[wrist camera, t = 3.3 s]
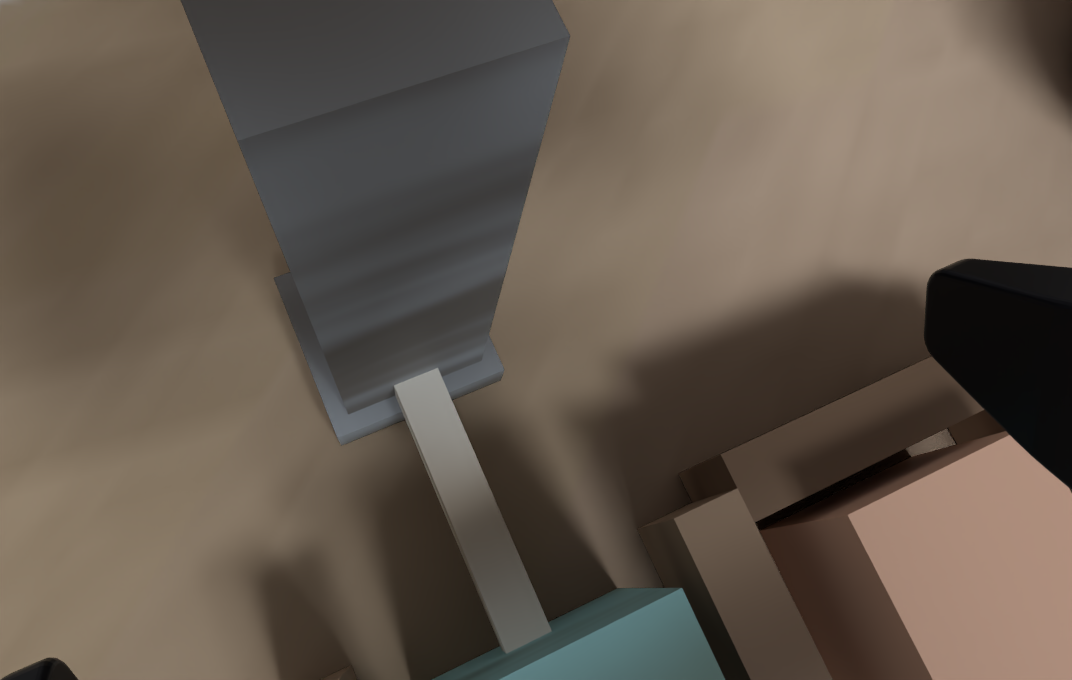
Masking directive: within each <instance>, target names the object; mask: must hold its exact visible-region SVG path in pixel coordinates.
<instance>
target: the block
mask: <svg viewBox="0 0 1072 680" xmlns="http://www.w3.org/2000/svg"><path fill="white" fill-rule="evenodd" d="M760 533H761V535H762V537H763V539H764V541H765V543H766V545H767V547H768V549H769V551H770V553H771V555H772V557H773V559H774V561H775V563H776V565H777V567H778V569H779V571H780V573H781V576H782V578H783V580H784V582H785V584H786V586H787V588H788V590H789V592H790V594H791V596H792V598H793V600H794V602H795V604H796V606H797V608H798V610H799V612H800V614H801V616H802V618H803V620H804V622H805V624H806V626H807V629H808V631H809V633H810V635H811V637H812V639H813V641H814V643H815V645H816V647H817V649H818V651H819V653H820V655H821V657H822V659H823V661H824V663H825V665H826V667H827V669H828V671H829V673H830V675H831V677H832V679H833V680H1072V493H1071V491H1070V489H1069V488H1068V487H1067V486H1066V485H1065V484H1064V483H1062V482H1061V481H1060V480H1059V479H1058V478H1056V477H1055V476H1054V475H1053V474H1052V473H1050V472H1049V471H1048V470H1047V469H1046V468H1045V467H1043V466H1042V465H1041V464H1040V463H1039V462H1038V461H1037V460H1035V459H1034V458H1033V457H1032V456H1031V455H1030V454H1029V453H1028V452H1027V451H1026V450H1025V449H1024V448H1022V447H1021V446H1020V445H1019V444H1018V443H1017V442H1016V441H1015V440H1014V439H1013V438H1012V437H1011V436H1010V435H1009V434H1008V433H1007V432H1006V431H1004V432H1001V433H997V434H993V435H990V436H986V437H983V438H979V439H975V440H972V441H968V442H964V443H961V444H957V445H953V446H950V447H946V448H942V449H939V450H935V451H932V452H928V453H924V454H921V455H917V456H913V457H910V458H908V459H906V460H904V461H902V462H900V463H898V464H896V465H894V466H892V467H890V468H888V469H886V470H884V471H882V472H880V473H877V474H875V475H873V476H871V477H869V478H867V479H865V480H863V481H861V482H859V483H857V484H855V485H853V486H851V487H849V488H847V489H845V490H842V491H840V492H838V493H836V494H834V495H832V496H830V497H828V498H826V499H824V500H822V501H820V502H818V503H816V504H814V505H812V506H810V507H808V508H805V509H803V510H801V511H799V512H797V513H795V514H793V515H791V516H789V517H787V518H785V519H783V520H781V521H779V522H777V523H775V524H773V525H770V526H768V527H766V528H764V529H762V530H760Z"/></svg>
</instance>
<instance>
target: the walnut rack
mask: <svg viewBox="0 0 1072 680" xmlns="http://www.w3.org/2000/svg"><path fill="white" fill-rule="evenodd" d="M946 428H948V429H949V431H950V432H951V434H952V436H953V438H954V440H955V441H956V443H957V444H961V443H964V442H968V441H972V440H975V439H979V438H983V437H986V436H990V435H993V434H997V433H1001V432H1004V431H1005V430H1004V429H1003V428H1002V427H1001V426H1000V425H999V424H998V423H997V422H996V421H995V420H994V419H993V418H992V417H991V416H990V415H989V414H988V413H987V412H986V411H985V410H984V409H983V408H982V407H981V406H980V405H979V404H978V403H977V402H976V401H975V400H974V399H973V398H972V397H971V396H970V395H969V394H968V393H967V392H966V391H965V390H964V389H963V388H962V387H961V386H960V385H959V384H958V383H957V382H956V381H955V380H954V379H953V378H952V377H951V376H950V375H949V374H948V373H947V372H946V371H945V370H944V369H943V368H942V367H941V366H940V365H939V364H938V363H937V362H936V361H935V359H934V358H933V357H932V356H931V357H929V358H926V359H924V360H922V361H920V362H918V363H915V364H913V365H911V366H909V367H907V368H905V369H902V370H900V371H898V372H896V373H894V374H892V375H890V376H887V377H885V378H883V379H881V380H879V381H877V382H874V383H872V384H870V385H868V386H866V387H864V388H862V389H859V390H857V391H855V392H853V393H851V394H849V395H847V396H844V397H842V398H840V399H838V400H836V401H834V402H831V403H829V404H827V405H825V406H823V407H821V408H819V409H816V410H814V411H812V412H810V413H808V414H806V415H803V416H801V417H799V418H797V419H795V420H793V421H791V422H788V423H786V424H784V425H782V426H780V427H778V428H775V429H773V430H771V431H769V432H767V433H765V434H763V435H760V436H758V437H756V438H754V439H752V440H750V441H747V442H745V443H743V444H741V445H739V446H737V447H735V448H732V449H730V450H728V451H726V452H724V453H722V454H719V455H717V456H715V457H713V458H711V459H709V460H707V461H704V462H702V463H700V464H698V465H696V466H694V467H691V468H689V469H687V470H685V471H683V472H681V473H679V476H680V478H681V480H682V482H683V484H684V486H685V488H686V490H687V492H688V494H689V496H690V499H691V501H692V503H691V504H689V505H686V506H684V507H682V508H680V509H678V510H676V511H674V512H672V513H670V514H668V515H665V516H663V517H661V518H659V519H657V520H655V521H653V522H651V523H649V524H647V525H644V526H642V527H640V528H638V529H637V530H638V532H639V534H640V536H641V538H642V540H643V542H644V545H645V547H646V549H647V551H648V553H649V555H650V557H651V560H652V562H653V564H654V566H655V568H656V570H657V572H658V575H659V577H660V579H661V581H662V583H663V585H664V587H665V588H682V589H683V591H684V593H685V595H686V597H687V599H688V601H689V604H690V606H691V608H692V610H693V612H694V614H695V616H696V618H697V621H698V623H699V625H700V627H701V629H702V631H703V633H704V635H705V638H706V640H707V642H708V644H709V646H710V648H711V650H712V652H713V655H714V657H715V659H716V661H717V663H718V665H719V667H720V669H721V672H722V674H723V676H724V678H725V680H833V679H832V677H831V675H830V673H829V671H828V669H827V667H826V665H825V663H824V661H823V659H822V657H821V655H820V653H819V651H818V649H817V647H816V645H815V643H814V641H813V639H812V637H811V635H810V633H809V631H808V629H807V627H806V625H805V623H804V621H803V619H802V617H801V615H800V613H799V611H798V609H797V607H796V605H795V603H794V601H793V599H792V597H791V595H790V593H789V591H788V589H787V587H786V585H785V583H784V581H783V579H782V577H781V575H780V573H779V571H778V569H777V567H776V565H775V563H774V561H773V559H772V557H771V555H770V553H769V551H768V549H767V547H766V544H765V542H764V540H763V538H762V536H761V534H760V532H759V530H758V528H757V526H756V524H755V522H757V521H759V520H761V519H763V518H765V517H767V516H769V515H771V514H773V513H775V512H777V511H779V510H781V509H783V508H785V507H787V506H789V505H791V504H793V503H795V502H797V501H800V500H802V499H804V498H806V497H808V496H810V495H812V494H814V493H816V492H818V491H820V490H822V489H824V488H826V487H828V486H830V485H832V484H834V483H836V482H838V481H840V480H842V479H844V478H846V477H848V476H850V475H852V474H854V473H856V472H859V471H861V470H863V469H865V468H867V467H869V466H871V465H873V464H875V463H877V462H879V461H881V460H883V459H885V458H887V457H889V456H891V455H893V454H895V453H897V452H899V451H901V450H903V449H905V448H907V447H909V446H911V445H913V444H915V443H918V442H920V441H922V440H924V439H926V438H928V437H930V436H932V435H934V434H936V433H938V432H940V431H942V430H944V429H946ZM1069 489H1070V488H1069ZM1070 491H1071V493H1072V490H1071V489H1070ZM321 680H357V678H356V676H355V673H354V670H353V668H352V665H350V666H348V667H346V668H344V669H342V670H340V671H337V672H335V673H333V674H331V675H329V676H327V677H325V678H323V679H321Z"/></svg>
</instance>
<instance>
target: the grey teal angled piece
mask: <svg viewBox="0 0 1072 680" xmlns="http://www.w3.org/2000/svg"><path fill="white" fill-rule="evenodd" d="M181 2H182V5H183V7H184V10H185V12H186V15H187V17H188V20H189V22H190V25H191V27H192V30H193V32H194V35H195V37H196V39H197V42H198V44H199V47H200V49H201V52H202V54H203V57H204V59H205V62H206V64H207V67H208V69H209V72H210V74H211V77H212V79H213V82H214V84H215V86H216V89H217V91H218V94H219V96H220V99H221V101H222V104H223V106H224V109H225V111H226V114H227V116H228V119H229V121H230V124H231V126H232V129H233V131H234V133H235V136H236V138H237V141H238V143H239V146H240V148H241V151H242V153H243V156H244V158H245V161H246V163H247V166H248V168H249V171H250V173H251V175H252V178H253V180H254V183H255V185H256V188H257V190H258V193H259V195H260V198H261V200H262V203H263V205H264V208H265V210H266V213H267V215H268V217H269V220H270V222H271V225H272V227H273V230H274V232H275V235H276V237H277V240H278V242H279V245H280V247H281V250H282V252H283V255H284V257H285V259H286V262H287V264H288V267H289V269H290V272H289V273H286V274H284V275H281V276H278V277H275V278H274V280H275V283H276V285H277V288H278V290H279V293H280V295H281V298H282V300H283V303H284V305H285V308H286V310H287V313H288V315H289V318H290V320H291V323H292V325H293V328H294V330H295V333H296V335H297V338H298V340H299V343H300V345H301V348H302V350H303V353H304V355H305V358H306V360H307V363H308V365H309V368H310V370H311V373H312V375H313V378H314V381H315V383H316V386H317V388H318V391H319V393H320V396H321V398H322V401H323V403H324V406H325V408H326V411H327V413H328V416H329V418H330V421H331V423H332V426H333V428H334V431H335V433H336V436H337V438H338V440H339V442H340V444H341V446H342V445H344V444H347V443H349V442H352V441H354V440H356V439H359V438H361V437H364V436H366V435H369V434H371V433H373V432H376V431H378V430H381V429H383V428H386V427H388V426H390V425H393V424H395V423H398V422H400V421H403V420H406V422H407V425H408V427H409V430H410V432H411V434H412V437H413V439H414V441H415V444H416V446H417V449H418V451H419V453H420V456H421V458H422V461H423V463H424V465H425V468H426V470H427V473H428V475H429V477H430V480H431V482H432V484H433V487H434V489H435V492H436V494H437V496H438V499H439V501H440V504H441V506H442V508H443V511H444V513H445V516H446V518H447V520H448V523H449V525H450V527H451V530H452V532H453V535H454V537H455V539H456V542H457V544H458V547H459V549H460V551H461V554H462V556H463V558H464V561H465V563H466V566H467V568H468V570H469V573H470V575H471V578H472V580H473V582H474V585H475V587H476V590H477V592H478V594H479V597H480V599H481V601H482V604H483V606H484V609H485V611H486V613H487V616H488V618H489V621H490V623H491V625H492V628H493V630H494V633H495V635H496V637H497V640H498V642H499V644H500V646H499V647H497V648H495V649H493V650H491V651H489V652H487V653H485V654H483V655H481V656H479V657H477V658H475V659H473V660H471V661H468V662H466V663H464V664H462V665H460V666H458V667H456V668H454V669H452V670H450V671H448V672H446V673H444V674H442V675H440V676H438V677H436V678H434V679H432V680H725V678H724V676H723V674H722V672H721V669H720V667H719V665H718V663H717V661H716V659H715V657H714V655H713V652H712V650H711V648H710V646H709V644H708V642H707V640H706V638H705V635H704V633H703V631H702V629H701V627H700V625H699V623H698V621H697V618H696V616H695V614H694V612H693V610H692V608H691V606H690V604H689V601H688V599H687V597H686V595H685V593H684V591H683V589H682V588H617V589H615V590H613V591H611V592H609V593H607V594H605V595H603V596H601V597H599V598H597V599H595V600H593V601H591V602H589V603H587V604H585V605H583V606H580V607H578V608H576V609H574V610H572V611H570V612H568V613H566V614H564V615H562V616H560V617H558V618H556V619H554V620H552V621H550V622H548V621H547V619H546V616H545V614H544V612H543V609H542V607H541V605H540V602H539V600H538V598H537V595H536V593H535V591H534V589H533V586H532V584H531V582H530V579H529V577H528V575H527V572H526V570H525V568H524V565H523V563H522V561H521V559H520V556H519V554H518V552H517V549H516V547H515V545H514V542H513V540H512V538H511V535H510V533H509V531H508V529H507V526H506V524H505V522H504V519H503V517H502V515H501V512H500V510H499V508H498V505H497V503H496V501H495V499H494V496H493V494H492V492H491V489H490V487H489V485H488V482H487V480H486V478H485V475H484V473H483V471H482V469H481V466H480V464H479V462H478V459H477V457H476V455H475V452H474V450H473V448H472V445H471V443H470V441H469V439H468V436H467V434H466V432H465V429H464V427H463V425H462V422H461V420H460V418H459V415H458V413H457V411H456V409H455V406H454V404H453V402H452V400H454V399H456V398H458V397H461V396H463V395H466V394H468V393H471V392H473V391H475V390H478V389H480V388H483V387H485V386H488V385H490V384H492V383H495V382H497V381H500V380H501V378H502V375H503V373H504V368H503V365H502V363H501V361H500V359H499V356H498V354H497V352H496V350H495V348H494V345H493V343H492V341H491V339H490V336H489V332H490V328H491V324H492V321H493V317H494V313H495V310H496V306H497V302H498V299H499V295H500V291H501V288H502V284H503V280H504V277H505V273H506V269H507V266H508V262H509V258H510V255H511V251H512V247H513V244H514V240H515V236H516V233H517V229H518V225H519V222H520V218H521V214H522V211H523V207H524V203H525V200H526V196H527V192H528V189H529V185H530V181H531V178H532V174H533V170H534V167H535V163H536V159H537V156H538V152H539V148H540V145H541V141H542V138H543V134H544V130H545V127H546V123H547V119H548V116H549V112H550V108H551V105H552V101H553V97H554V94H555V90H556V86H557V83H558V79H559V75H560V72H561V68H562V64H563V61H564V57H565V53H566V50H567V46H568V42H569V39H570V34H569V32H568V30H567V29H566V27H565V25H564V23H563V21H562V19H561V17H560V15H559V13H558V11H557V9H556V7H555V5H554V3H553V1H552V0H181Z"/></svg>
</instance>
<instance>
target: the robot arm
mask: <svg viewBox="0 0 1072 680" xmlns="http://www.w3.org/2000/svg"><path fill="white" fill-rule="evenodd" d="M924 340H925V344H926V347H927V349H928V351H929V353H930V354H931V356H932V357H933V358H934V359H935V361H936V362H937V363H938V364H939V365H940V366H941V367H942V368H943V369H944V370H945V371H946V372H947V373H948V374H949V375H950V376H951V377H952V378H953V379H954V380H955V381H956V382H957V383H958V384H959V385H960V386H961V387H962V388H963V389H964V390H965V391H966V392H967V393H968V394H969V395H970V396H971V397H972V398H973V399H974V400H975V401H976V402H977V403H978V404H979V405H980V406H981V407H982V408H983V409H984V410H985V411H986V412H987V413H988V414H989V415H990V416H991V417H992V418H993V419H994V420H995V421H996V422H997V423H998V424H999V425H1000V426H1001V427H1002V428H1003V429H1004V430H1005V431H1006V432H1007V433H1008V434H1009V435H1010V436H1011V437H1012V438H1013V439H1014V440H1015V441H1016V442H1017V443H1018V444H1019V445H1020V446H1021V447H1022V448H1024V449H1025V450H1026V451H1027V452H1028V453H1029V454H1030V455H1031V456H1032V457H1033V458H1034V459H1035V460H1037V461H1038V462H1039V463H1040V464H1041V465H1042V466H1043V467H1045V468H1046V469H1047V470H1048V471H1049V472H1050V473H1052V474H1053V475H1054V476H1055V477H1056V478H1058V479H1059V480H1060V481H1061V482H1062V483H1064V484H1065V485H1066V486H1067V487H1068V488H1070V489H1071V490H1072V268H1068V267H1057V266H1046V265H1035V264H1024V263H1013V262H1002V261H991V260H980V259H964V260H960V261H957V262H955V263H953V264H951V265H948V266H946V267H944V268H941V269H939V270H937V271H935V272H934V273H933V274H932V275H931V277H930V278H929V280H928V283H927V290H926V307H925V324H924ZM1 680H78V679H77V677H76V676H75V675H74V674H73V672H72V671H71V670H70V669H69V667H68V666H67V665H66V664H65V663H64V662H63V661H61V660H59V659H58V658H46V659H43V660H41V661H38V662H36V663H34V664H32V665H29V666H27V667H25V668H22V669H20V670H18V671H15V672H13V673H11V674H9V675H7V676H6V677H4V678H2V679H1Z"/></svg>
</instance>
